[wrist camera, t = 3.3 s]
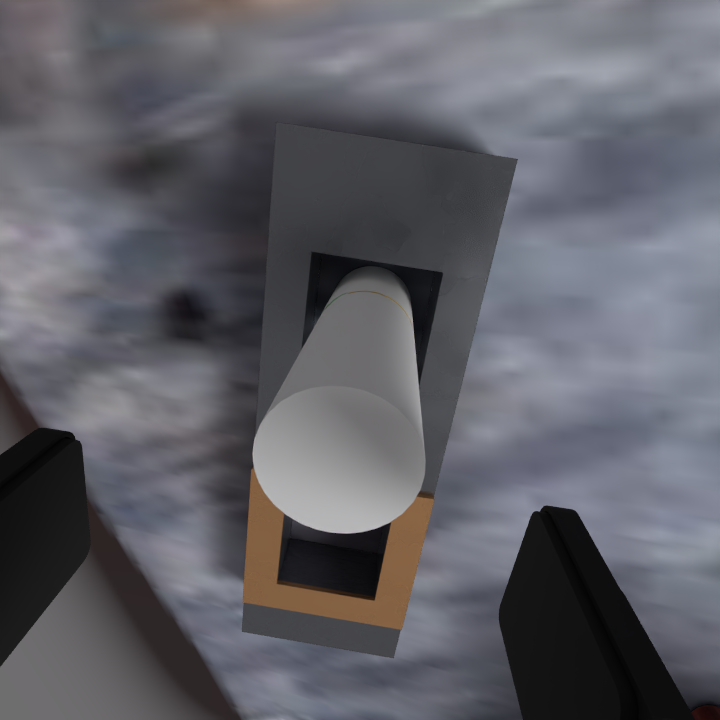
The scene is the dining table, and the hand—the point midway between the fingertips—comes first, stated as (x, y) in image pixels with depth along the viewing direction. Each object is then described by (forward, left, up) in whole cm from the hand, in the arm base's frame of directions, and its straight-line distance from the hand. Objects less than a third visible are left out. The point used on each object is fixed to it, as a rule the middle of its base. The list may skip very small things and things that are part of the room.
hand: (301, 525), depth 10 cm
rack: (+7, 0, -17) cm, 18 cm away
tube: (0, 0, -17) cm, 17 cm away
